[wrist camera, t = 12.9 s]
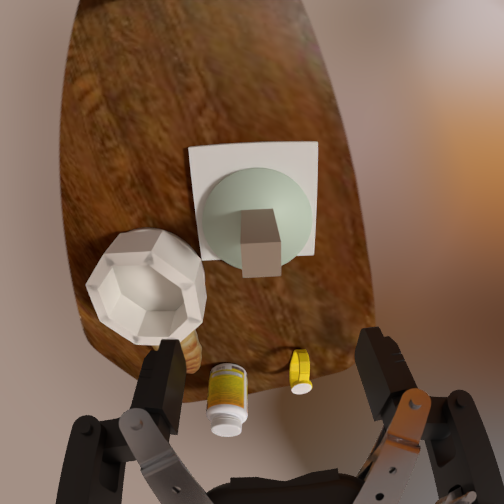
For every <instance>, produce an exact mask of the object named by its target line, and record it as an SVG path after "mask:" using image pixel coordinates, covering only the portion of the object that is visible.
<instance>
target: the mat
mask: <svg viewBox="0 0 504 504" xmlns="http://www.w3.org/2000/svg"><path fill="white" fill-rule="evenodd" d="M188 151H189V161H190V170H191V180H192V188H193V197H194V205H195V214H196V221H197V229H198V237H199V244H200V251H201V258H202V260H222V259H221V258H219V257H218V256H217V255H216V254H215V253H214V252H213V250H212V249H211V248H210V246H209V244H208V243H207V241H206V238H205V235H204V232H203V227H202V216H203V210H204V206H205V204H206V201H207V198H208V196H209V195H210V193H211V191H212V190H213V189H214V187H215V186H216V185H217V184H218V183H219V182H220V181H221V180H223V179H224V178H225V177H227V176H228V175H230V174H232V173H234V172H237V171H239V170H243V169H247V168H255V167H257V168H269V169H273V170H276V171H279V172H281V173H283V174H285V175H287V176H289V177H290V178H291V179H293V180H294V181H295V182H296V183H297V184H298V185H299V186H300V187H301V189H302V190H303V191H304V193H305V194H306V196H307V198H308V200H309V203H310V206H311V209H312V217H313V222H312V229H311V233H310V236H309V239H308V241H307V243H306V244H305V246H304V247H303V249H302V250H301V251H300V252H299V253H298V254H297V256H305V255H314V246H315V228H316V207H317V178H318V142H317V141H274V142H246V143H229V144H215V145H203V146H192V147H189V148H188Z"/></svg>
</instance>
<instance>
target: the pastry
mask: <svg viewBox="0 0 504 504" xmlns="http://www.w3.org/2000/svg"><path fill="white" fill-rule="evenodd" d="M180 344H181V347H182V351H183V354H184V357H185V360H186V367H187V372H186V373H191V374H193V373H195V372H196V371H197V370H198V369H199V368H200V364H201V359H202V355H201V351H202V347H201V345H200V343H199V341H198V336H197V333H196V330H194V331H192V332H191V333H190V334H189V335H188V336H187V337H186V338H185V339H183V340H182V341H181V342H180ZM152 347H153V348H154V350H155V351H158V348H159V346H158V345H152Z"/></svg>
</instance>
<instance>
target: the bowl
mask: <svg viewBox="0 0 504 504" xmlns="http://www.w3.org/2000/svg"><path fill="white" fill-rule="evenodd" d="M86 288H87V291H88V293H89V296H90V298H91V301H92V303H93V306H94V308H95V311H96V313H97V315H98V318H99V320H100V322H102V323H103V324H105V325H106V326H108V327H109V328H111V329H112V330H114V331H115V332H117V333H118V334H120V335H121V336H123V337H125V338H126V339H128V340H129V341H131V342H132V343H134V344H136V345H158V346H159V345H160V341H161V340H162V339H178V340H179V341H180V342H181V341H182V340H183V339H185V338H186V337H187V336H188V335H189V334H190V333H191V332H192V331H194V330H195V329H196V328H197V327H198V326H199V325H200V324H201V323H202V322H203V316H204V310H205V303H206V298H207V295H206V289H205V272H204V267H203V265H202V262H201V258H200V257H199V256H198V255H197V253H196V252H195V250H194V249H193V248H192V247H191V246H190V245H189V244H188V243H187V242H186V241H184V240H183V239H182V238H180V237H179V236H177V235H175V234H173V233H171V232H168V231H166V230H162V229H158V228H138V229H134V230H131V231H129V232H127V233H120V234H119V235H118V236H117V237H116V239H115V240H114V241H113V242H112V244H111V245H110V246H109V248H108V249H107V250H106V251H105V253H104V254H103V256H102V257H101V259H100V261H99V262H98V264H97V266H96V267H95V269H94V271H93V272H92V274H91V276H90V278H89V279H88V281H87V283H86Z"/></svg>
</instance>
